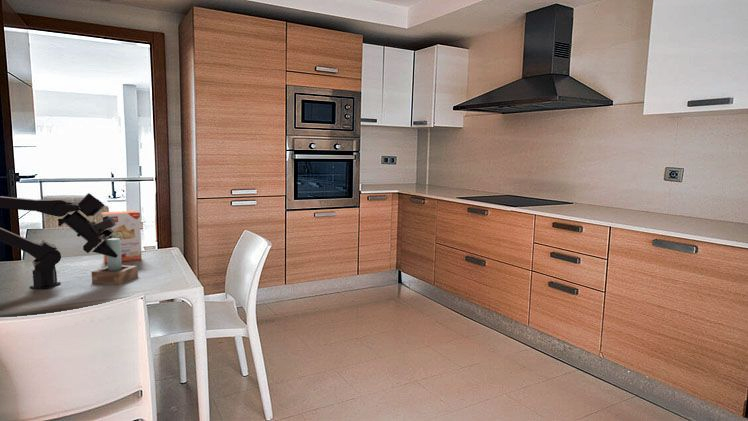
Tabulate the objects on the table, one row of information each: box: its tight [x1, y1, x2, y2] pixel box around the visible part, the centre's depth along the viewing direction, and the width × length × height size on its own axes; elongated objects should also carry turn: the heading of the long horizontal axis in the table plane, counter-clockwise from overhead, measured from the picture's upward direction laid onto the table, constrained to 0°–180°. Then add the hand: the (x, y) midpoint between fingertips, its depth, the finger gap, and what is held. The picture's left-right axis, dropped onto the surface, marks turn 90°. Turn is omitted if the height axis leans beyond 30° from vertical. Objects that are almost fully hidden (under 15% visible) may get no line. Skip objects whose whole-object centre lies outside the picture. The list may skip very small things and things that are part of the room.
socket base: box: [91, 264, 139, 285], centre depth 169 cm, size 10×10×4 cm
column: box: [106, 238, 123, 272], centre depth 168 cm, size 4×4×12 cm
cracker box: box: [101, 210, 143, 264], centre depth 196 cm, size 14×6×21 cm, turn 124°
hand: (118, 255), depth 169 cm, fingers closed on column, 4 cm apart
